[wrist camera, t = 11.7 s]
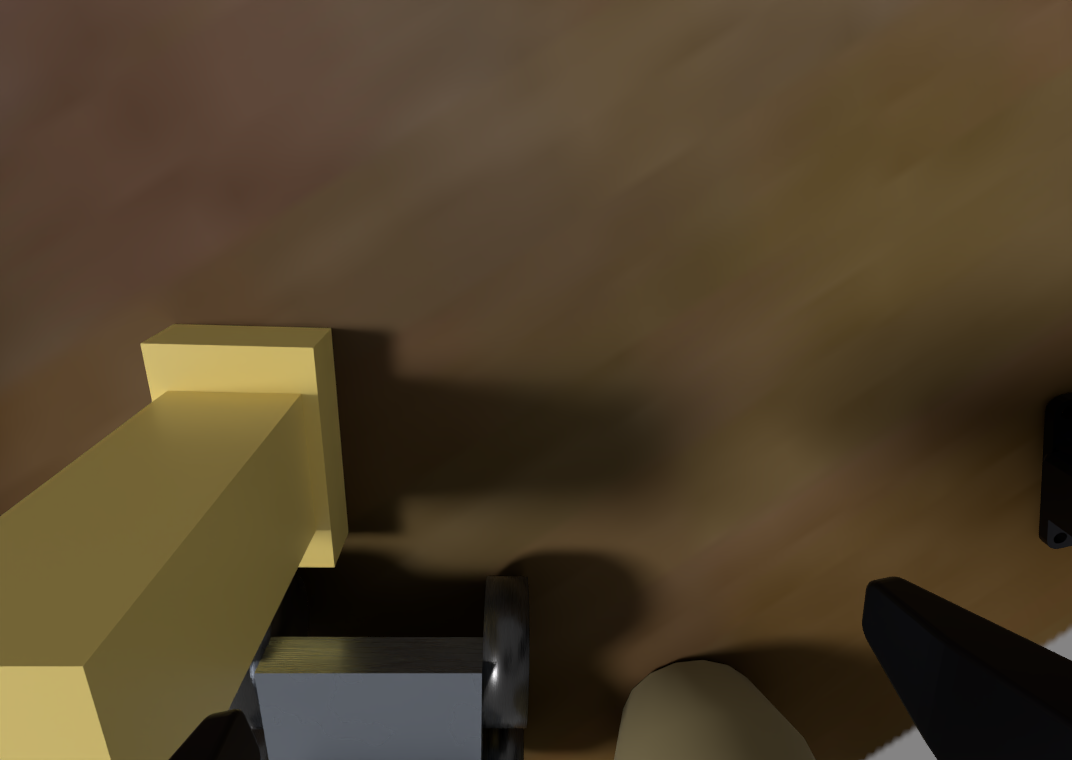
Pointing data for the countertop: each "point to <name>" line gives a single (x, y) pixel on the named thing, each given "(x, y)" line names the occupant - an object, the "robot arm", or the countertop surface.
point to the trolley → (391, 688)
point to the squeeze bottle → (704, 718)
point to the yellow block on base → (169, 546)
